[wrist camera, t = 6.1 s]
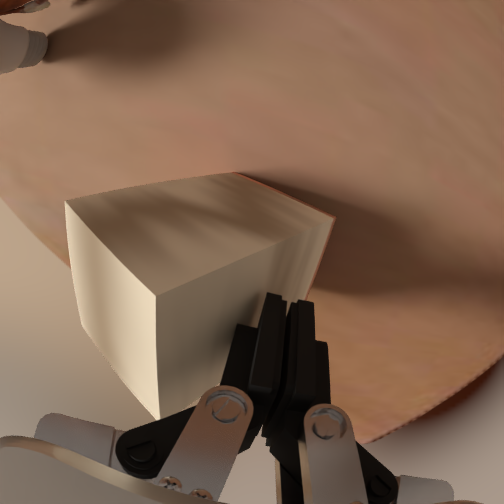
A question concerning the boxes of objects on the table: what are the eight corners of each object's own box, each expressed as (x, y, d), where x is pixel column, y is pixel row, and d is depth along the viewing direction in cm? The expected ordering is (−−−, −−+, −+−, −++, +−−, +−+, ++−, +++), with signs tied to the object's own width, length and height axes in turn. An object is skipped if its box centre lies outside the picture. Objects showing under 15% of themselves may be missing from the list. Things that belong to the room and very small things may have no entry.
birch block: (336, 217, 13) (155, 296, 6) (298, 320, 15) (160, 424, 9) (234, 172, 15) (64, 200, 9) (217, 267, 18) (82, 325, 12)
